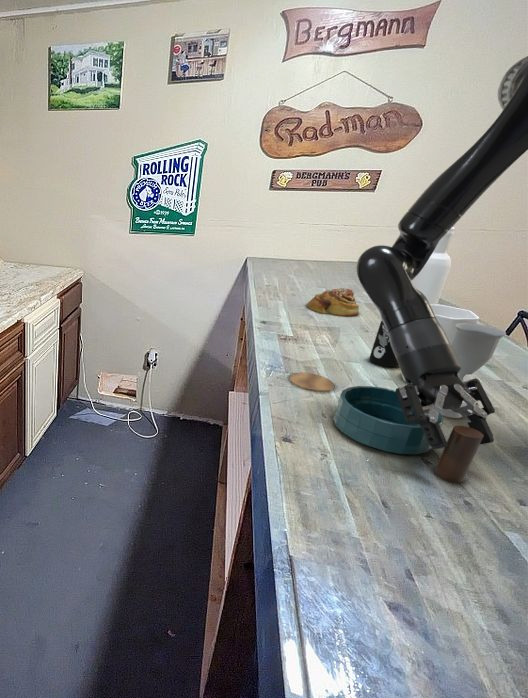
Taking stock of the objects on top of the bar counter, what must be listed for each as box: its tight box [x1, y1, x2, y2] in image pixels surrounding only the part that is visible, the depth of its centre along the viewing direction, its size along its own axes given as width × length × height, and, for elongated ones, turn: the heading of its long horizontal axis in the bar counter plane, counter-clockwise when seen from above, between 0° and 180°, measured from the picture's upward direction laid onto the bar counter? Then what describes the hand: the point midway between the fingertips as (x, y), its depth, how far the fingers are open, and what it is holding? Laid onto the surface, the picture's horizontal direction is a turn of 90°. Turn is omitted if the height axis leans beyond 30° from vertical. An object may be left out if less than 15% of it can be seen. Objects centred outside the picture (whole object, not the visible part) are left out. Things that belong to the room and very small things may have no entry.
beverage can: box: [369, 320, 399, 369], centre depth 113 cm, size 7×7×12 cm
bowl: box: [332, 385, 444, 455], centre depth 85 cm, size 15×15×6 cm
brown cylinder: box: [434, 425, 483, 484], centre depth 73 cm, size 4×4×8 cm
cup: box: [401, 303, 480, 384], centre depth 103 cm, size 11×10×17 cm
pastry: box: [306, 287, 360, 318], centre depth 155 cm, size 13×15×8 cm
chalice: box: [440, 323, 507, 419], centre depth 90 cm, size 7×7×18 cm
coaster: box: [289, 372, 335, 393], centre depth 105 cm, size 9×9×1 cm
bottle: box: [411, 226, 456, 304], centre depth 135 cm, size 8×8×30 cm
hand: (463, 445), depth 72 cm, fingers open, 8 cm apart
